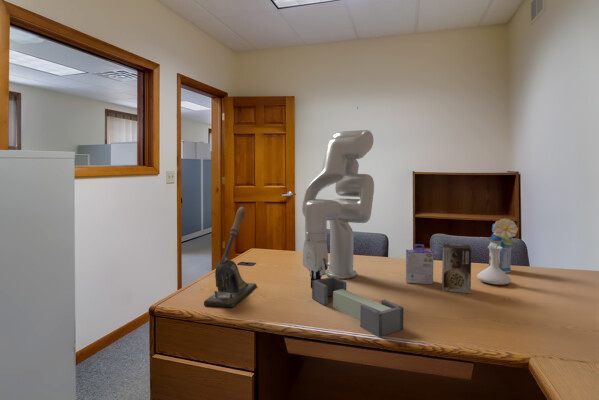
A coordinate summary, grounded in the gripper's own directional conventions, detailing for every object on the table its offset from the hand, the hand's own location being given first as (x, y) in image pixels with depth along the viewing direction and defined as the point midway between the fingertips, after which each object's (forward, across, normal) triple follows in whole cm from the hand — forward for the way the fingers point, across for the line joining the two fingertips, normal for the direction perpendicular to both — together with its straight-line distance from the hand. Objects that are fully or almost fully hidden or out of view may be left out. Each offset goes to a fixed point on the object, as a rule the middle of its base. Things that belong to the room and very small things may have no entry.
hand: (315, 288), depth 122 cm
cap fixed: (+2, +33, 0) cm, 33 cm away
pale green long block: (+2, +24, 0) cm, 24 cm away
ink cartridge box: (+2, +10, +41) cm, 42 cm away
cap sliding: (+2, +8, 0) cm, 8 cm away
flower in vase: (+2, +26, +65) cm, 70 cm away
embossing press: (+2, -13, -26) cm, 29 cm away
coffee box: (+2, +23, +45) cm, 51 cm away
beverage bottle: (+2, +17, +83) cm, 85 cm away
